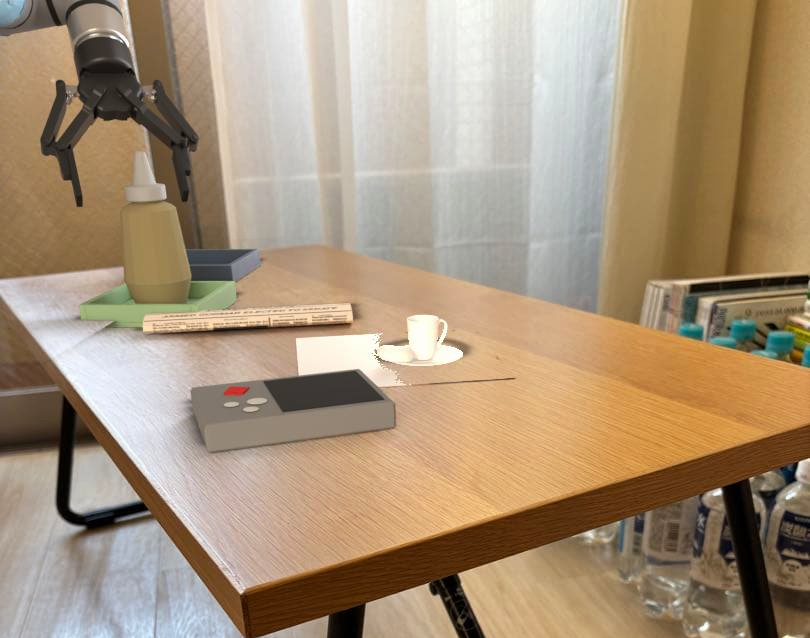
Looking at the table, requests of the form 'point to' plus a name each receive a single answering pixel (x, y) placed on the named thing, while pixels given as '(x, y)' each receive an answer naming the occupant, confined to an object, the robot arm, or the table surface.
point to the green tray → (129, 314)
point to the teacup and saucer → (359, 349)
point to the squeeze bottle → (152, 241)
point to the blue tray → (222, 263)
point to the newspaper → (247, 318)
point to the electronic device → (290, 409)
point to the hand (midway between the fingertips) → (133, 199)
